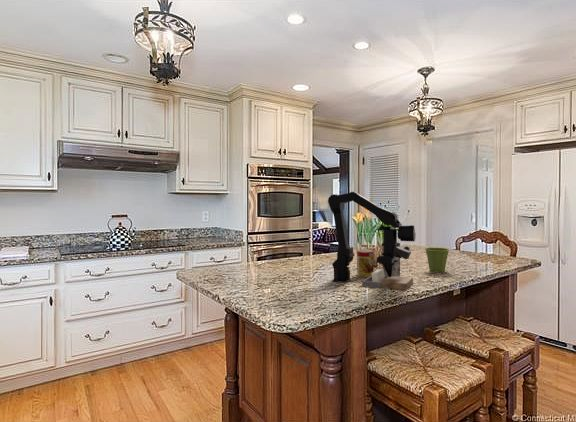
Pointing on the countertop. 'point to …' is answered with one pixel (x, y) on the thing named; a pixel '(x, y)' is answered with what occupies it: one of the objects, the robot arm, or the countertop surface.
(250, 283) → the countertop surface
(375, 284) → the box
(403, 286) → the plate
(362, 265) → the canned food
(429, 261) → the plant pot
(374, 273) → the cream tile
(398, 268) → the coffee box
